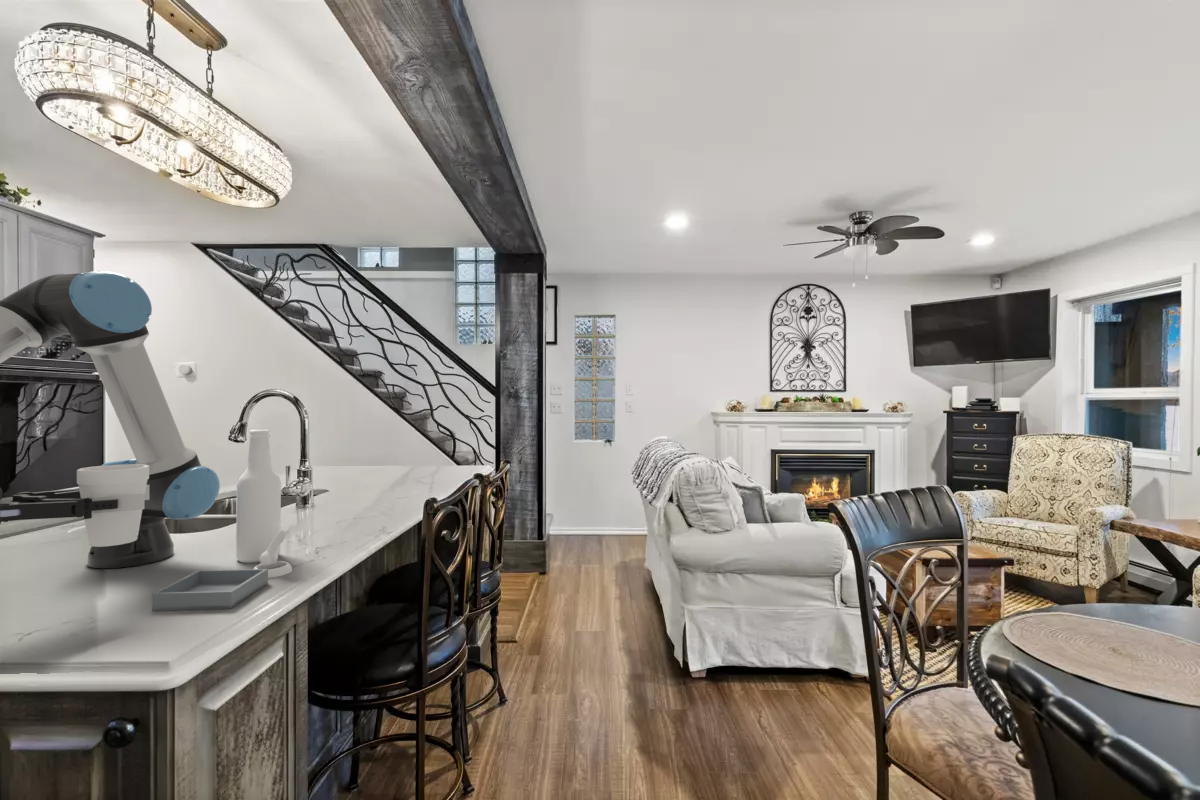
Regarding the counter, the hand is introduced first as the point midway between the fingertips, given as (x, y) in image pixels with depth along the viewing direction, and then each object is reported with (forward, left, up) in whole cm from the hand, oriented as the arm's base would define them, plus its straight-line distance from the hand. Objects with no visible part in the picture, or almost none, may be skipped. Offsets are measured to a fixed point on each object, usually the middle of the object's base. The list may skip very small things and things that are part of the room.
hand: (146, 496), depth 99 cm
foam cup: (+2, -4, -8) cm, 9 cm away
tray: (-5, +9, -20) cm, 22 cm away
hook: (-19, +13, -20) cm, 30 cm away
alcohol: (-30, +5, -20) cm, 36 cm away
